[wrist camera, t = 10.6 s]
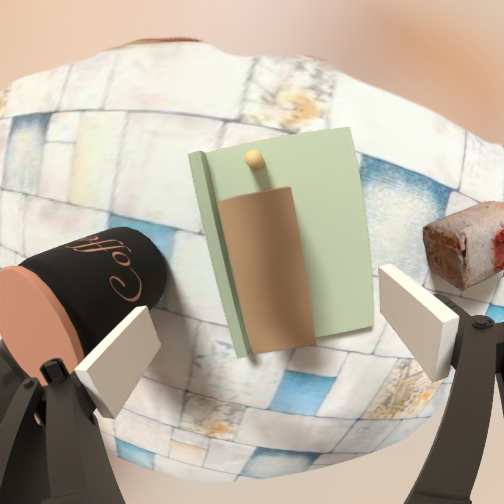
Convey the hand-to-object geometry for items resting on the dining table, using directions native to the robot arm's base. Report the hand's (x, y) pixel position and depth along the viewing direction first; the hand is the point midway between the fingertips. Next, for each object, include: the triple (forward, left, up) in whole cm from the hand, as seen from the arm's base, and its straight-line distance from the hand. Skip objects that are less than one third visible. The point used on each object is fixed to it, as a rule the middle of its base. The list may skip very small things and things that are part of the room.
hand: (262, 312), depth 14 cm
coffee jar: (-17, 0, -16) cm, 23 cm away
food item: (+25, -3, -16) cm, 30 cm away
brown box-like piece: (0, 0, -14) cm, 14 cm away
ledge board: (+2, 0, -16) cm, 16 cm away
